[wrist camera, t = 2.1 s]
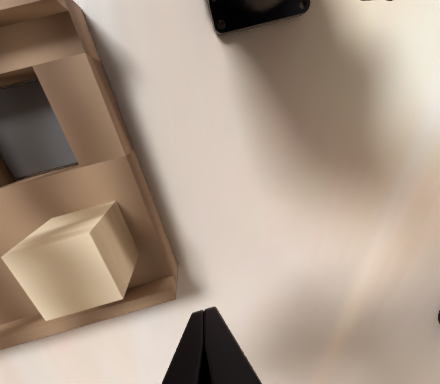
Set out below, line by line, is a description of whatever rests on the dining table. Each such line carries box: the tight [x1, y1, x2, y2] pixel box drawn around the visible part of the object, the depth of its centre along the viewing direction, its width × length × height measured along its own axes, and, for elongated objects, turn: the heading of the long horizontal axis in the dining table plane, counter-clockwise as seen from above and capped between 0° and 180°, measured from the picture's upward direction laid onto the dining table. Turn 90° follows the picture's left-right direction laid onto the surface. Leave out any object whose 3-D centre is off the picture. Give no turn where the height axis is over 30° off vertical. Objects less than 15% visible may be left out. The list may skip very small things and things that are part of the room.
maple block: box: [1, 201, 139, 321], centre depth 14 cm, size 4×4×4 cm
